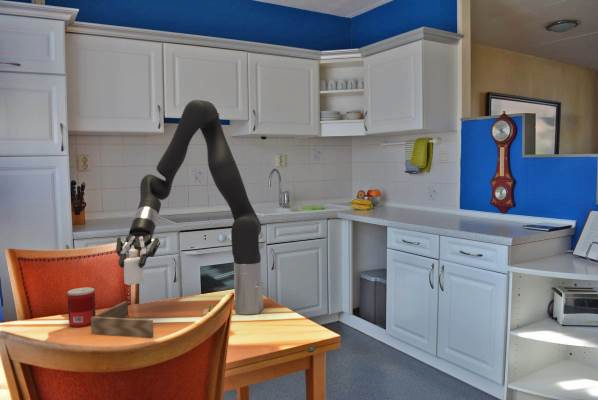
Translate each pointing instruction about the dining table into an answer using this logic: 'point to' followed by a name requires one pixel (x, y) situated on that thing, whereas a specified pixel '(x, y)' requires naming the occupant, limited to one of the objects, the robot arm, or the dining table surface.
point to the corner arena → (120, 323)
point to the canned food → (81, 306)
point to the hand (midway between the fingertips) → (130, 266)
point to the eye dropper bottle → (132, 268)
